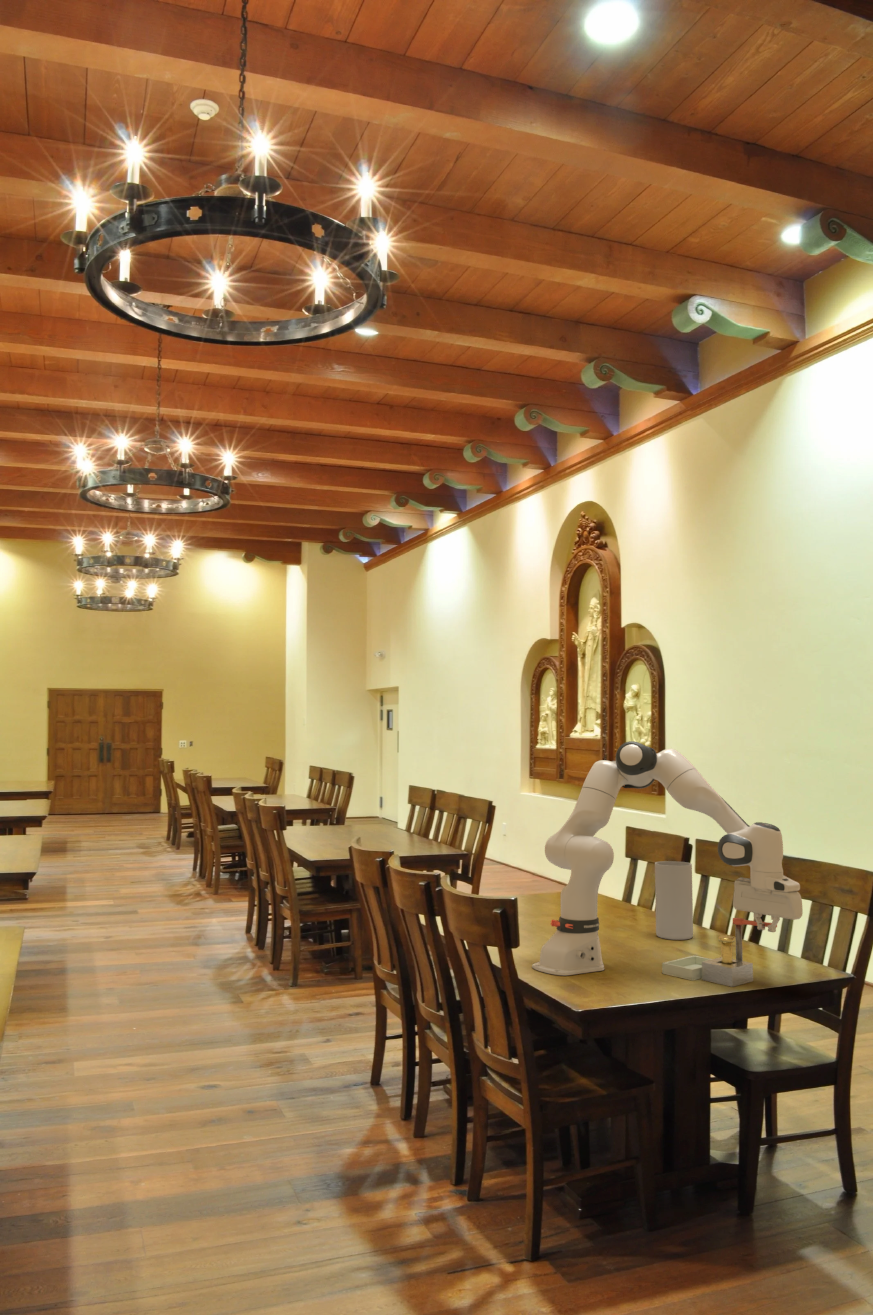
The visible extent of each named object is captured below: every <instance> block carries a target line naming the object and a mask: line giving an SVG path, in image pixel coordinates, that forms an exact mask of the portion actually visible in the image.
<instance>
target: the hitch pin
mask: <svg viewBox="0 0 873 1315" xmlns="http://www.w3.org/2000/svg"><path fill="white" fill-rule="evenodd" d="M718 942H720V948H721V949H720V950H721V952H720V954H721V958H722V964H727V965H731V964H733V960H732V959H733V943H736V937H734V936H730V935H720V936H718Z"/></svg>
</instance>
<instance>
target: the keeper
mask: <svg viewBox="0 0 873 1315" xmlns="http://www.w3.org/2000/svg"><path fill="white" fill-rule="evenodd" d="M762 922H763V923H765V928H768V925H771V923H772V922H769V921H762ZM732 924H733V925H734V926H735V925H742V926H743V925H749V926H756V927H757V922H756V920H748V919H745V918H741V917H733V918H732ZM776 928H778V924H777V925H776Z"/></svg>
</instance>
